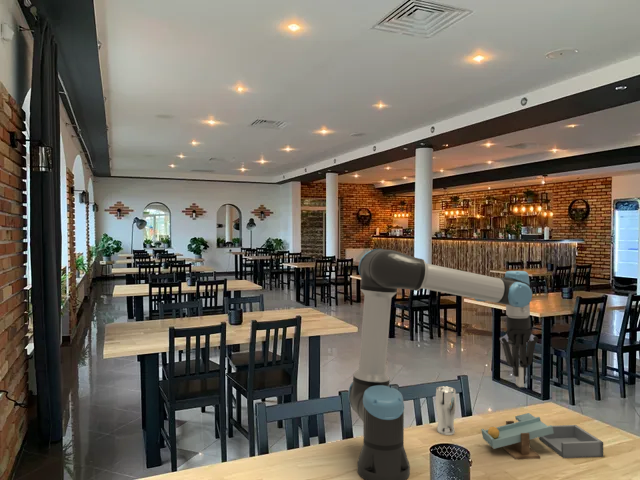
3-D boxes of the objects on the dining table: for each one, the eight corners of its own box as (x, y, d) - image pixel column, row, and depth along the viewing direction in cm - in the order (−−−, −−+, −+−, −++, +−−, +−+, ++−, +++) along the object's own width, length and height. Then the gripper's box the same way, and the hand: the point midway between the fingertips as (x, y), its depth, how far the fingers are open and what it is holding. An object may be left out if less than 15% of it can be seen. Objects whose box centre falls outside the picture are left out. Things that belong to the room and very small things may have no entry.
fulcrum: (515, 459, 147) (515, 435, 147) (496, 441, 160) (496, 420, 160) (540, 458, 148) (540, 435, 148) (519, 440, 161) (519, 419, 161)
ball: (492, 442, 152) (489, 431, 152) (488, 437, 155) (484, 427, 155) (502, 438, 152) (499, 427, 152) (497, 433, 156) (494, 423, 155)
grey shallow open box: (563, 458, 148) (563, 443, 148) (539, 439, 162) (539, 426, 162) (603, 456, 149) (603, 442, 149) (575, 438, 163) (575, 424, 163)
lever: (494, 449, 149) (492, 440, 149) (474, 429, 164) (472, 421, 164) (554, 433, 151) (552, 424, 151) (529, 415, 166) (527, 407, 166)
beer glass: (433, 433, 167) (433, 390, 167) (438, 426, 174) (438, 385, 173) (453, 437, 164) (453, 393, 164) (458, 429, 170) (457, 387, 170)
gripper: (504, 319, 158) (506, 390, 159) (542, 317, 159) (544, 388, 160) (494, 315, 166) (496, 383, 166) (530, 313, 167) (532, 381, 167)
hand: (519, 385), depth 163 cm, fingers closed
